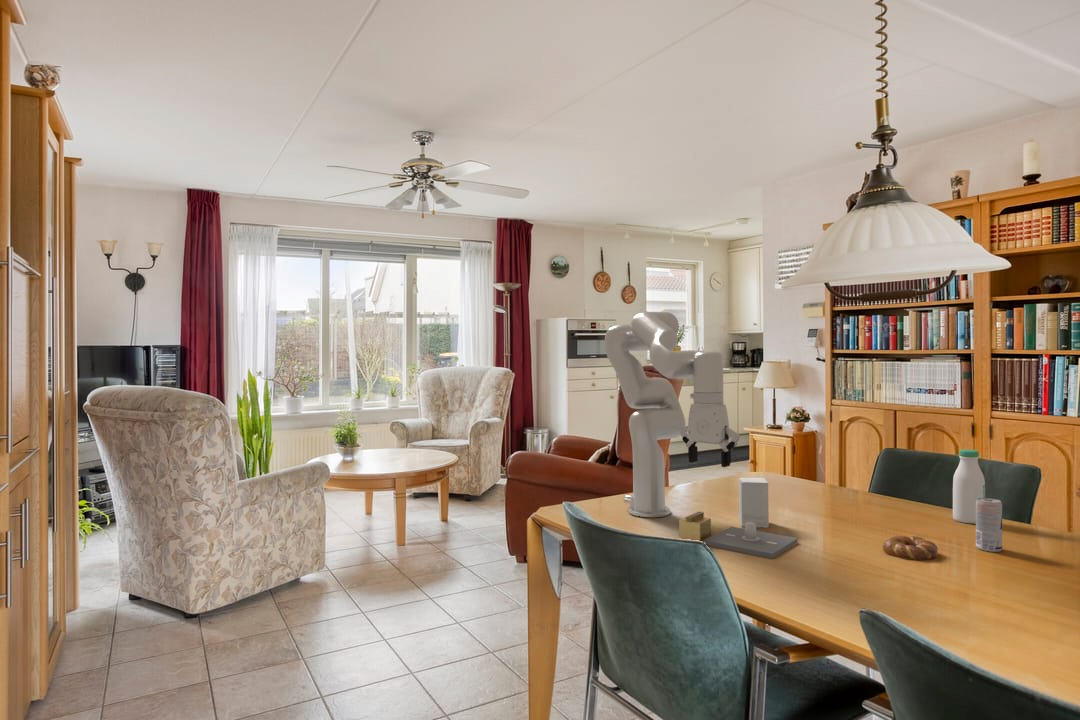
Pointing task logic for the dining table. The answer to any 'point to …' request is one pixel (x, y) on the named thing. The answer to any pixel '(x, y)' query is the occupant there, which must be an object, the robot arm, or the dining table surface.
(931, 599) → the dining table surface
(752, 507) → the supplement box
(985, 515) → the energy drink
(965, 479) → the milk bottle
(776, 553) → the post base
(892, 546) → the pretzel
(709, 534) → the tan boxy piece
